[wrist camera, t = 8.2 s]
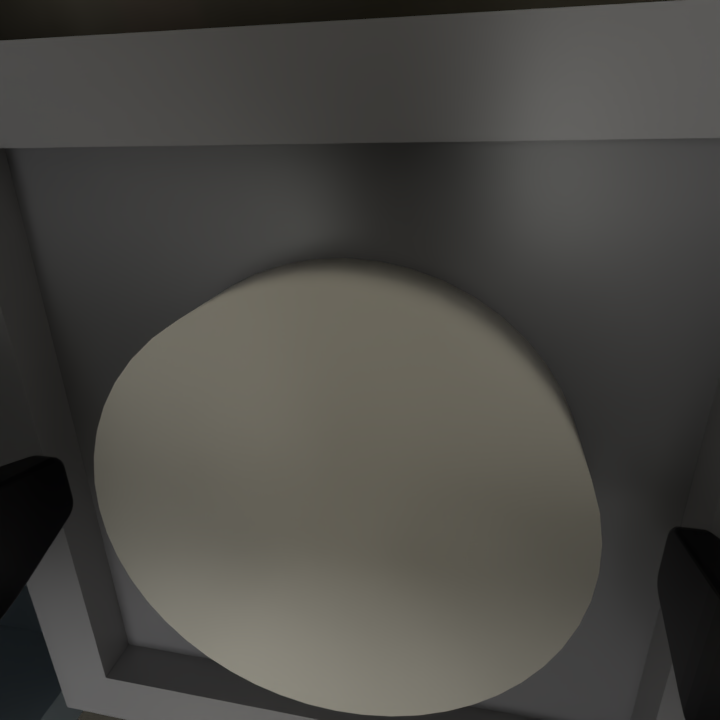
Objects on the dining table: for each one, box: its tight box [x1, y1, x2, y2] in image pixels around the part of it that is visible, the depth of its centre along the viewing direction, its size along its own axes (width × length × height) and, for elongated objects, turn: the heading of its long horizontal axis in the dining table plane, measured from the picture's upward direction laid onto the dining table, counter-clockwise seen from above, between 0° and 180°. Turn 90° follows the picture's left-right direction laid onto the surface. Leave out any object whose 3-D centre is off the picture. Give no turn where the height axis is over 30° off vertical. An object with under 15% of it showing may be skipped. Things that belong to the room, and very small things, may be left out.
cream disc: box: [94, 258, 602, 716], centre depth 8 cm, size 7×7×2 cm
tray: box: [0, 0, 720, 720], centre depth 8 cm, size 14×17×4 cm
